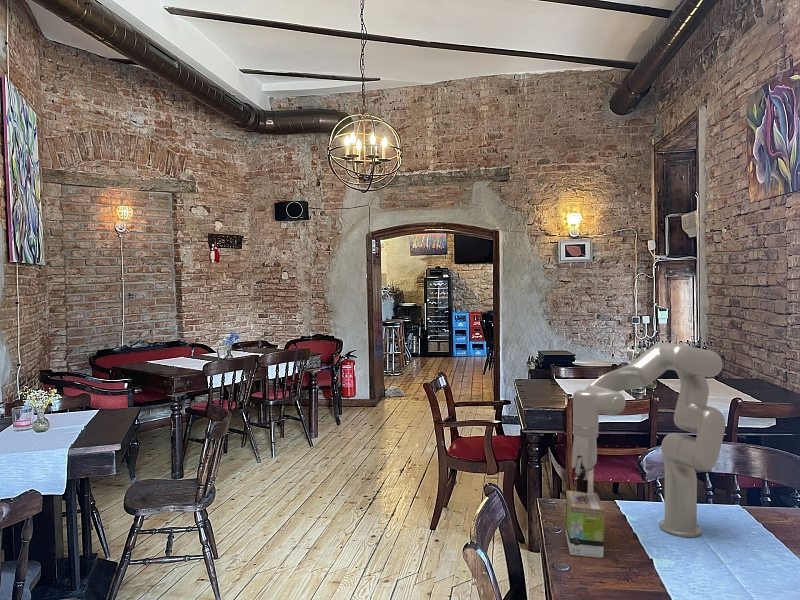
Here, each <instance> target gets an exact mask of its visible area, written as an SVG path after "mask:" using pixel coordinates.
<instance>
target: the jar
mask: <svg viewBox="0 0 800 600" xmlns="http://www.w3.org/2000/svg"><path fill="white" fill-rule="evenodd" d="M584 468H585V467H582V468H581V469H584ZM582 472H583V474H584V471H582ZM593 474H595V468H594V469H593V468H592V467H591V468H590V469H589V470H587V479H586V480H588V492H587V493H583V492H579V493H583V494H592V493H594V487H593Z"/></svg>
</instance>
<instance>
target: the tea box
mask: <svg viewBox="0 0 800 600" xmlns="http://www.w3.org/2000/svg"><path fill="white" fill-rule="evenodd" d="M565 493H566V494H565V536H566V537H565V538H566V542H567V547H568V551H569V555H572V556H576V557H577V556H578V557H590V558H599V559H600V558H604V555H605V553H604V550H605V548H604V546H605V545H604V543H605V542H604V541H605V540H604V538H605V536H604V535H605V509H604V506H603V502H601V498H600V497H599V494H598V493H597V492H593V493H592V494H583V493H579V492H578V491H577V490H576V491H575V490H566V491H565Z"/></svg>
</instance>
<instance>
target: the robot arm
mask: <svg viewBox="0 0 800 600" xmlns="http://www.w3.org/2000/svg"><path fill="white" fill-rule="evenodd" d="M722 369H723V359H722V358H721V356H720V355H719V354H718V353H717V352H715V351H712V350H709V349H703V348H698V347H694V346H689V345H686V344H679V343H671V342H658V343H656V344H653V345H652V346H651V347H650V348H648V349H647V350H645V351H644V352H643V353H642V354H640V355H639V356H638V357H637V358H635V360H633V361H632V362H630V363H629V364H628V365H625V366H622V367H619V368H617V369H615V370H612V371H609V372H606V373H605V374H603V375H601V376H599V377H598V378H596V379H595V380H594V381H592V382H591V383H590V384H589V385H588V386H587V387H586V388H585V389H579V390H576V391H574V393H573V394H572V395H573V396H572V435H573V442H572V450H571V452H572V453H571V468H573V469H575V471H574V472H575V475H576V491H578V492H583V493H587V492H588V480H586V479H587V470H589V469H590V468H591V467H592V468H593V469H594V470H595V465H596V464H597V459H598V447H597V446H598V445H597V443H598V442H597V439H598V437H599V422H600V421H599V416H600V415H609V416H613V415H615V416H616V415H618V414H620V413H622V412H623V411H624V410H625V408H626V403H627V402H626V398H625V396H623V394H622V393H620V392H622V391H623V392H624V391H628V390H635V389H636V390H637V389H641V388H642V389H643V388H645V387H648V386H649V385H650V384H652V383H653V382H654V381H656V379H658V378H660V376H662V375H663V374H664V373H665V372H666V371H668V370H670V371H675V373H676V375H677V376H678V379H679V381H680V382H679V383H680V388H679V394H678V398H677V402H676V406H675V410H674V414H673V423H674V425H675V426H676V427H677V428H679V429H681V430H683V431H686V432H689V433H693V434H696V437H693V436H691V435H688V434H684V433H681V432H672V433H669V434H667V435H665V436H664V438H663V439H662V441H661V444H660V445H661V454H662V459H663V465H664V466H663V467H664V519H662V520H660V521H659V528H660V529H661V530H662V531H664V532H666V533H667V534H670V535H674V536H678V537H683V538H696V537H699V536H701V535H702V534H703V529H702V527H701V526H700V525H698V524H697V523H698V522H697V521H698V519H697V516H698V515H697V512H698V511H697V510H698V509H697V508H698V507H697V506H698V505H697V504H698V503H697V502H698V501H697V499H698V493H697V490H698V487H697V485H698V478H697V477H698V476H697V473H696V470H697V471H699V472H709V471H711V470H712V469H714V467H715V466H716V464H717V462H718V459H719V456H720V451H721V449H722V444H723V440H724V435H725V431H726V419H725V416H724V414H723V412H721V410H719V409H718V408H715V407H713V406H710V405H708V399H709V394H710V388H709V384H708V381H707V379H706V378H714V377H716V376H718V375H719V374H720V373H721V372H722ZM582 467H585V468H584V469H581V468H582ZM582 471H584V474H583V472H582ZM594 474H595V473H594ZM594 474H593V488H594V487H595V486H594V485H595V484H594V482H595V475H594Z"/></svg>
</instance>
